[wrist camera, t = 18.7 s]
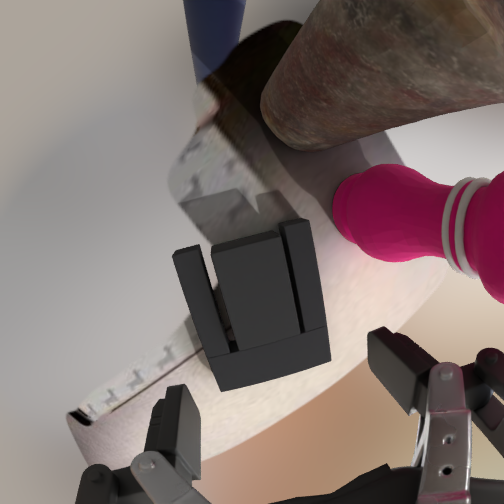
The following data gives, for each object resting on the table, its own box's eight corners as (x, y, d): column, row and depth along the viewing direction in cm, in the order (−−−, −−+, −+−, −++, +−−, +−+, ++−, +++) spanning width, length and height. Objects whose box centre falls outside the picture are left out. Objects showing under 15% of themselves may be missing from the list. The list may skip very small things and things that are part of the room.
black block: (211, 246, 22) (210, 253, 19) (272, 230, 22) (280, 235, 19) (236, 333, 24) (239, 351, 21) (291, 318, 24) (300, 334, 21)
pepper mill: (406, 217, 23) (599, 266, 4) (353, 265, 24) (550, 387, 4) (369, 152, 22) (590, 125, 2) (309, 199, 22) (574, 239, 2)
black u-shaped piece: (175, 250, 21) (171, 255, 20) (301, 217, 22) (309, 219, 20) (220, 379, 24) (221, 392, 22) (324, 350, 25) (331, 361, 23)
